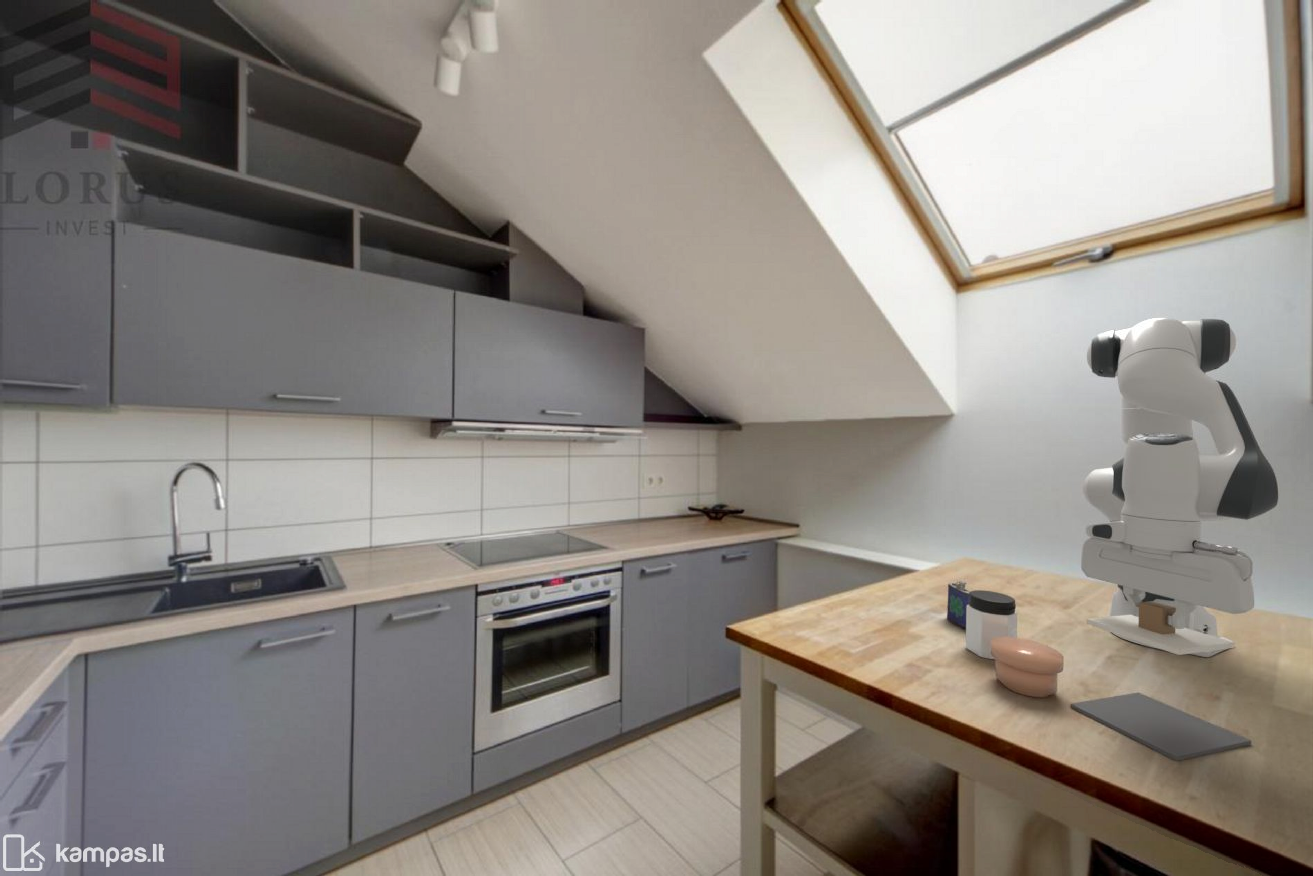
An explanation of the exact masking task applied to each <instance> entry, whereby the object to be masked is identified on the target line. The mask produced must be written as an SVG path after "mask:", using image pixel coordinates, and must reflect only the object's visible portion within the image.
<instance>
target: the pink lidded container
mask: <svg viewBox="0 0 1313 876" xmlns="http://www.w3.org/2000/svg"><path fill="white" fill-rule="evenodd" d="M991 655H992V656H993V657H994V658H995V659H996V660H995V664H994V665H995V669H994V670H995V671H994V672H995V673H994V674H995V677H996V678H997V680H998V681H999V682H1001V684H1002V685H1003V686H1004V687H1006V688H1007V689H1009V690H1011V691H1012V692H1015V693H1018V694H1020V695H1024V696H1026V697H1032V698H1047V697H1050V695H1055V694H1056V693H1057V691H1058V674H1061V673H1062V672H1064V660H1065V658H1064V655H1063V654H1062V653H1061V652H1060V651H1059V650H1057V649H1056V648H1053V647H1052V646H1048V645H1046V644H1043V643H1040V642H1037V641H1034V640H1029V639H1025V638H1020V637H1017V638H1014V637H997V638H994V639H992V640H991Z"/></svg>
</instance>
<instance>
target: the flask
mask: <svg viewBox="0 0 1313 876" xmlns="http://www.w3.org/2000/svg"><path fill="white" fill-rule="evenodd" d="M966 585H967V582H966V581H962V580H956V582H948V584H947V587H948V589H947V607H946V608H947V609H946V610H947V611H946V612H947V614H946V615H947V616H946V619H947V621H948V622H949V623H952V624H953V625H955V626H957V627H959V628H961V629H963V630H964V631H966V606H967V605H968V604H969V592H971V591H972V590H970V589H967V588H966Z"/></svg>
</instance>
